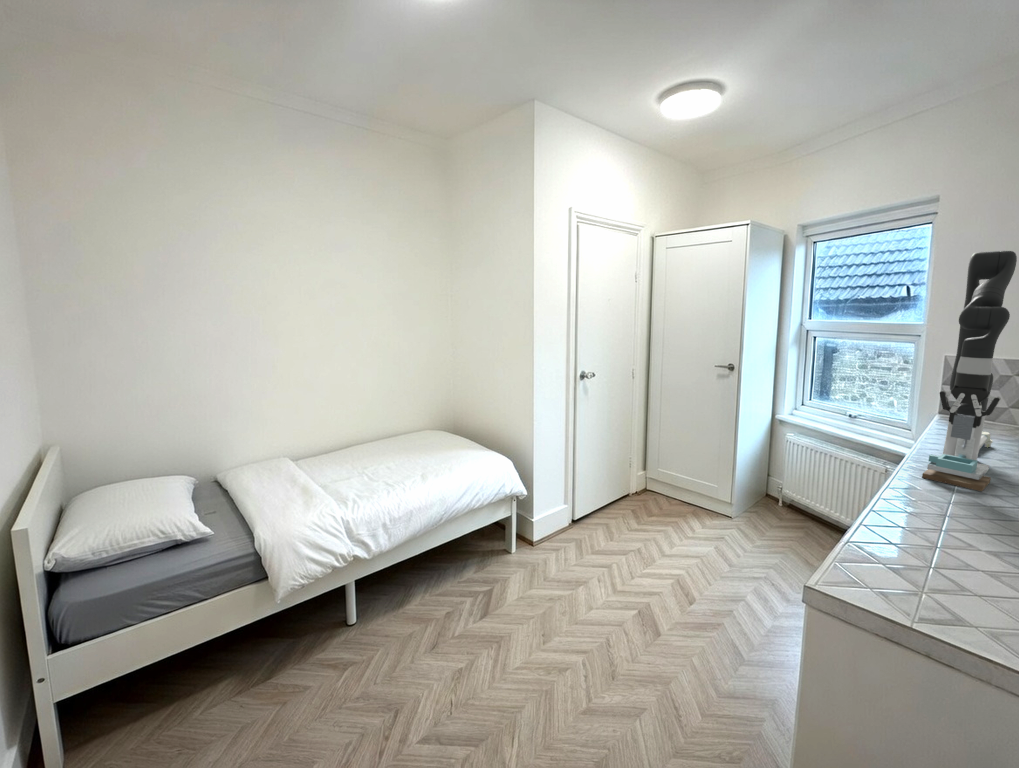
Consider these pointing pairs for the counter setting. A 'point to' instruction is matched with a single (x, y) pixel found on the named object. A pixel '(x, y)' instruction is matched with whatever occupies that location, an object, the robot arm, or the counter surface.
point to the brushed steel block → (963, 426)
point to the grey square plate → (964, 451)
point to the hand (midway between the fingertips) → (963, 425)
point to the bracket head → (954, 462)
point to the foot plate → (957, 479)
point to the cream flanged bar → (985, 440)
